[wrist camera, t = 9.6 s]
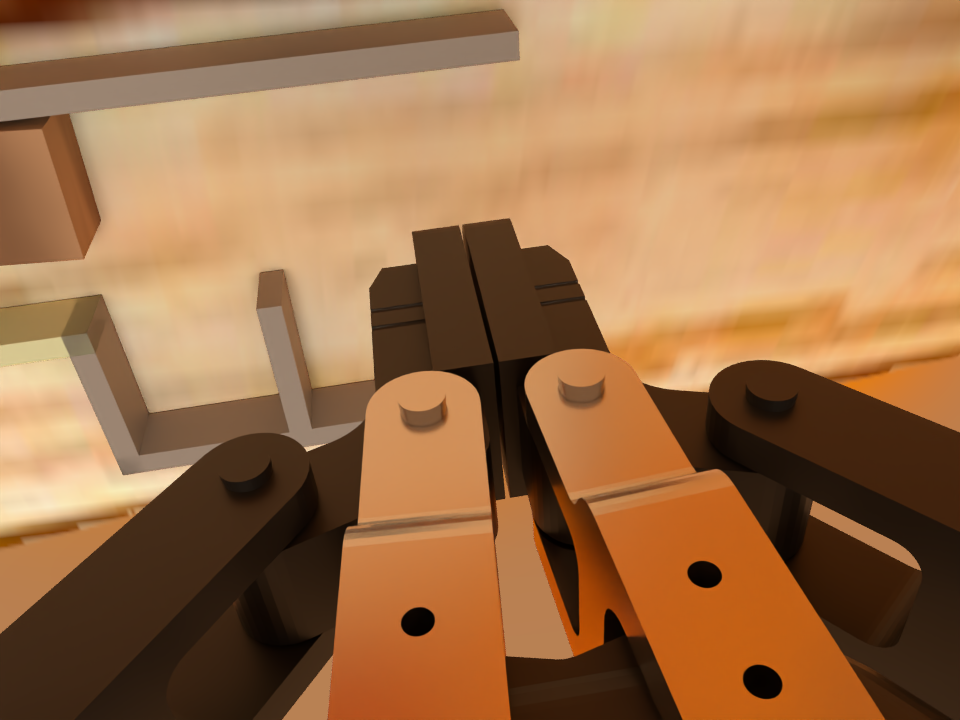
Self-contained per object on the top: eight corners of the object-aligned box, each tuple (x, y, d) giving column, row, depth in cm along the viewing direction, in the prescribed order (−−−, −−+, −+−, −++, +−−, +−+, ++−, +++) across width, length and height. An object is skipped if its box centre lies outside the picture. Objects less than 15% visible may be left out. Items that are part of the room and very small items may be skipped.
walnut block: (65, 95, 37) (41, 129, 34) (101, 218, 41) (83, 259, 37) (-81, 103, 36) (-119, 138, 33) (-31, 228, 40) (-60, 270, 37)
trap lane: (503, 9, 38) (518, 31, 35) (520, 374, 50) (532, 411, 47) (-154, 83, 35) (-193, 112, 32) (36, 447, 48) (19, 491, 45)
